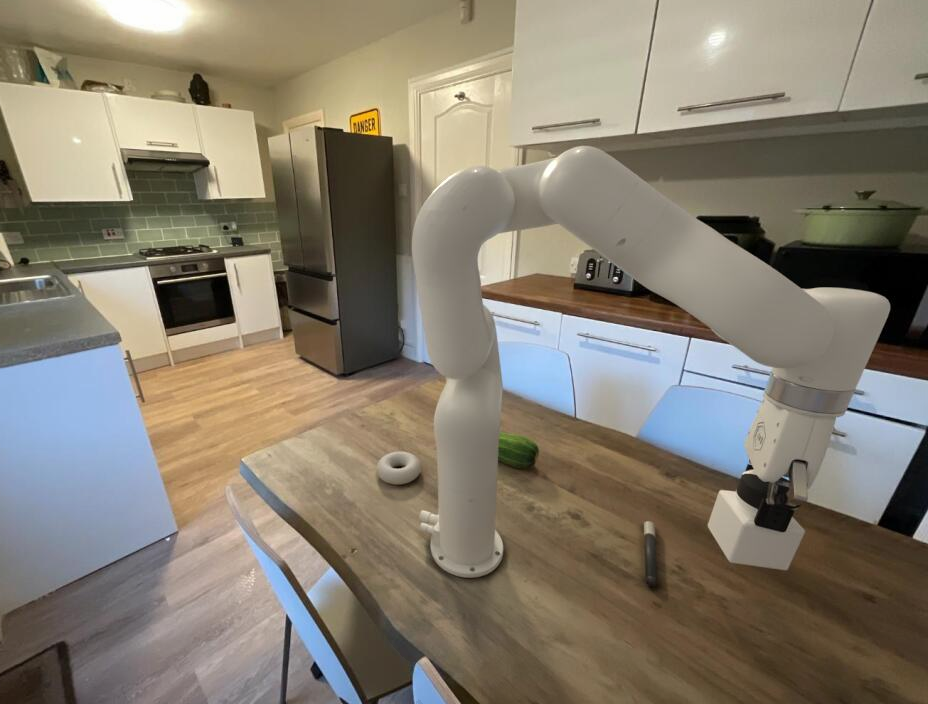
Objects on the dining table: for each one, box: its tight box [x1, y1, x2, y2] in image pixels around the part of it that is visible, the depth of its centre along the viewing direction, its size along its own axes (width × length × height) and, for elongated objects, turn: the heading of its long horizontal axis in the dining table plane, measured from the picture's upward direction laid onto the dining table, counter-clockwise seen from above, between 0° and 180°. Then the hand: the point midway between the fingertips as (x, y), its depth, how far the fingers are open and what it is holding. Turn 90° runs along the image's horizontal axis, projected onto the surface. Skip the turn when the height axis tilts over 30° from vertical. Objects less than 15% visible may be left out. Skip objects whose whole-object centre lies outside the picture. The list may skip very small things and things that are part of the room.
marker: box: [643, 520, 659, 587], centre depth 68 cm, size 14×2×2 cm
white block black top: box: [707, 470, 806, 571], centre depth 56 cm, size 7×7×12 cm
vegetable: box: [498, 431, 540, 470], centre depth 95 cm, size 7×7×20 cm
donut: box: [376, 450, 422, 486], centre depth 91 cm, size 10×4×10 cm
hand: (760, 507), depth 56 cm, fingers closed on white block black top, 7 cm apart
